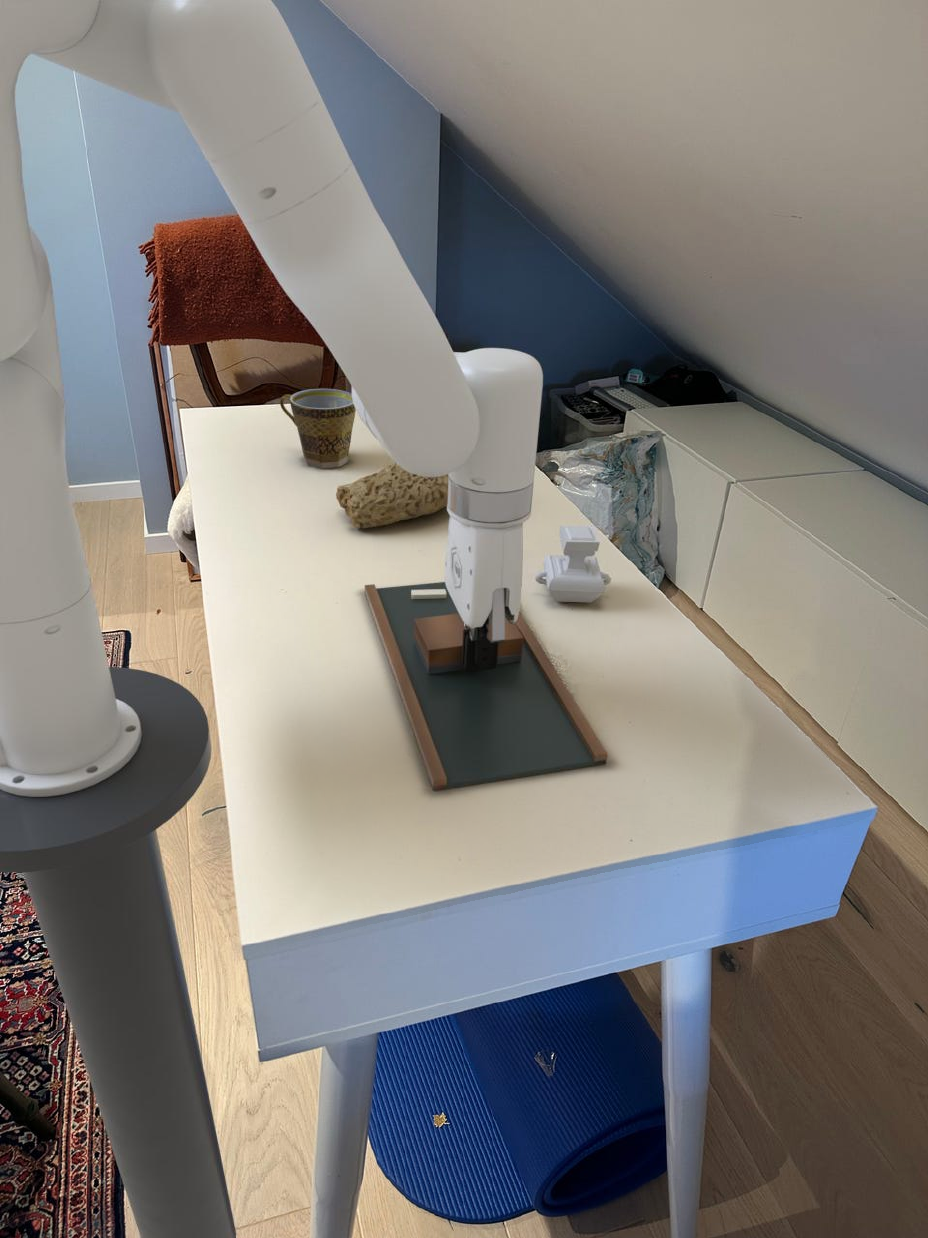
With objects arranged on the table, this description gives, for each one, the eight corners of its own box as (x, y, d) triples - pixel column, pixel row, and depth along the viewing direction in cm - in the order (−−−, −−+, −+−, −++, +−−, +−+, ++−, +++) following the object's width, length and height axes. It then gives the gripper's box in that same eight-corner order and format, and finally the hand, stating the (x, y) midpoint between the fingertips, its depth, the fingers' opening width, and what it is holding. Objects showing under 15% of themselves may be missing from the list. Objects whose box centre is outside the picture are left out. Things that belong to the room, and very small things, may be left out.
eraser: (428, 674, 87) (429, 650, 85) (413, 642, 92) (414, 618, 90) (521, 661, 89) (523, 637, 88) (502, 631, 94) (504, 607, 93)
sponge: (364, 549, 113) (497, 499, 118) (347, 494, 110) (486, 445, 115) (336, 525, 124) (460, 481, 130) (320, 474, 121) (448, 430, 126)
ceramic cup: (369, 457, 138) (369, 395, 132) (335, 477, 130) (332, 413, 125) (302, 441, 142) (298, 381, 137) (264, 460, 134) (259, 397, 129)
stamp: (604, 582, 106) (613, 520, 101) (612, 610, 100) (623, 546, 96) (531, 580, 106) (537, 517, 101) (535, 608, 100) (542, 543, 95)
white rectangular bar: (412, 599, 99) (412, 594, 99) (411, 594, 100) (411, 589, 100) (446, 598, 100) (446, 594, 99) (445, 593, 101) (445, 588, 100)
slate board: (433, 791, 73) (433, 780, 73) (364, 593, 101) (364, 584, 100) (606, 764, 77) (608, 753, 77) (494, 581, 105) (495, 572, 104)
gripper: (429, 466, 81) (425, 630, 91) (471, 536, 69) (461, 716, 79) (505, 461, 83) (493, 622, 93) (559, 529, 71) (539, 706, 81)
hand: (478, 665), depth 86 cm, fingers closed
